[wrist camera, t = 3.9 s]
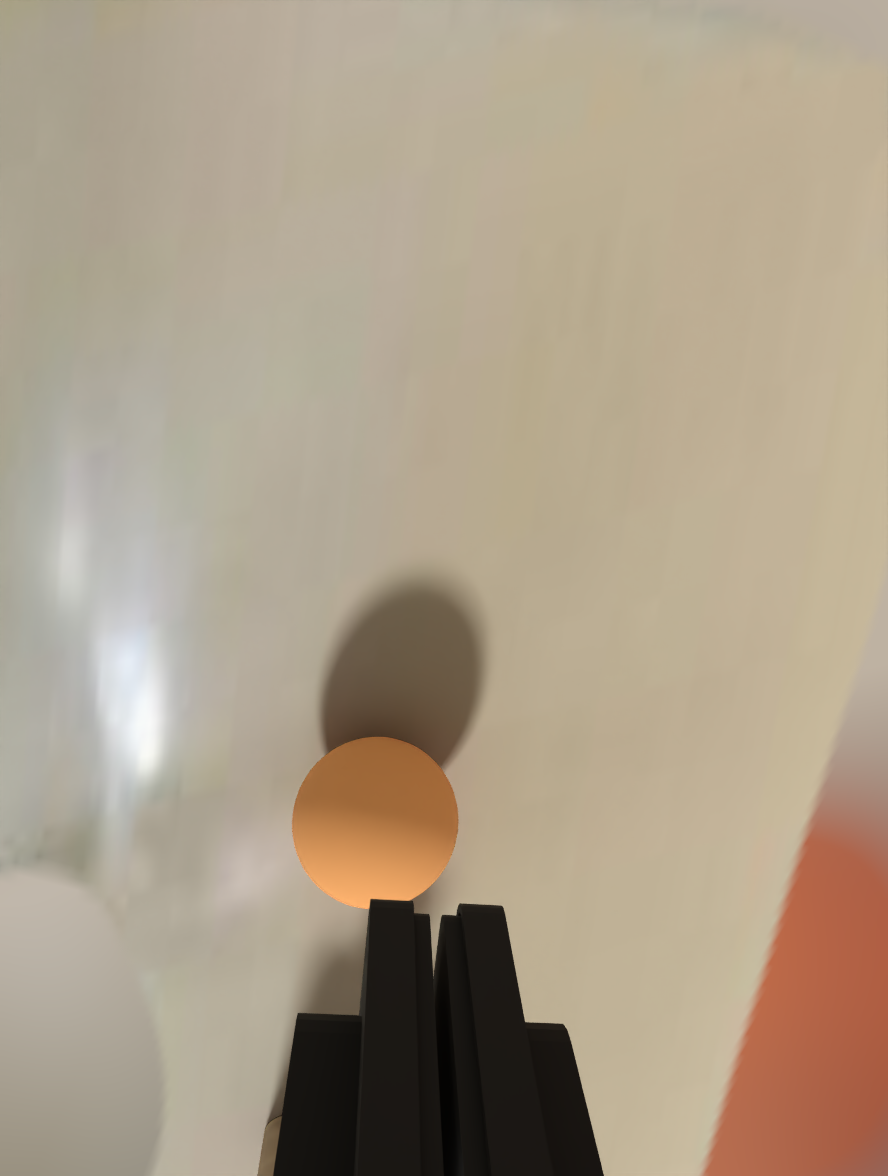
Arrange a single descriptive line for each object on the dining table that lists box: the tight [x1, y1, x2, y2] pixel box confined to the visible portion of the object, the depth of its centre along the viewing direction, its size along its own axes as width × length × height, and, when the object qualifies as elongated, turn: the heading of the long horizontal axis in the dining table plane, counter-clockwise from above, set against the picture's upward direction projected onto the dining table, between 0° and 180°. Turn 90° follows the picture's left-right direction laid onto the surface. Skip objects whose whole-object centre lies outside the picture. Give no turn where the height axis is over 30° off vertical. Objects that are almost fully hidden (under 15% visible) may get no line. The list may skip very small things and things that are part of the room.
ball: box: [292, 737, 458, 909], centre depth 29 cm, size 6×6×6 cm
